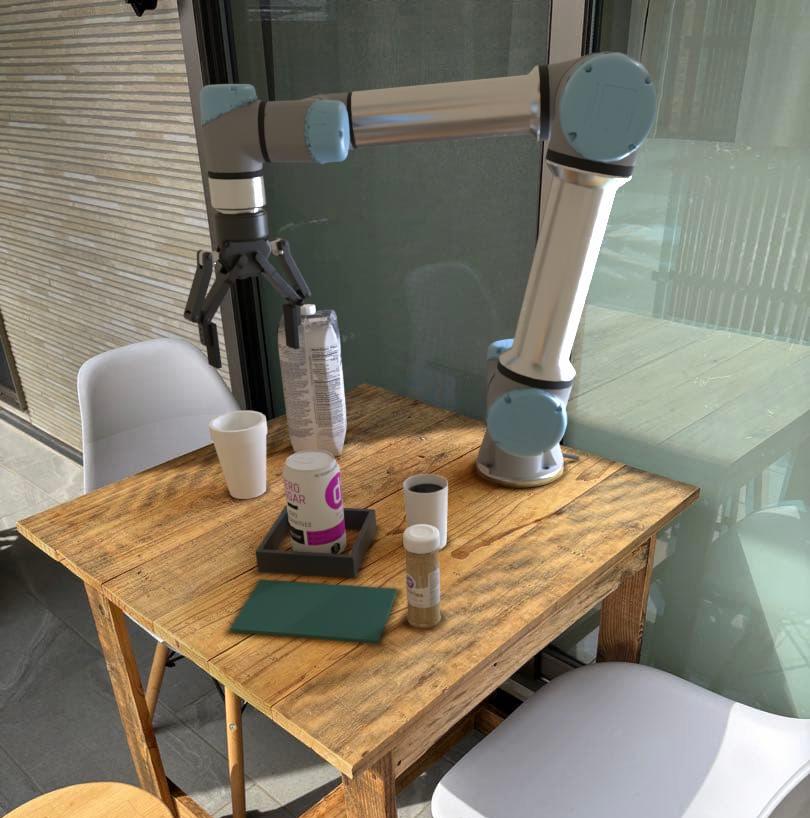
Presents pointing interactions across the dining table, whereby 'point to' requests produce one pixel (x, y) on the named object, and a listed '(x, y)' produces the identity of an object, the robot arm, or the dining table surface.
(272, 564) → the square frame
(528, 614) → the dining table surface
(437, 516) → the white coffee cup
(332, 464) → the supplement can
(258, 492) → the foam cup
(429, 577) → the sprinkles bottle
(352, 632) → the mat
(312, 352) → the juice carton
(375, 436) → the dining table surface
